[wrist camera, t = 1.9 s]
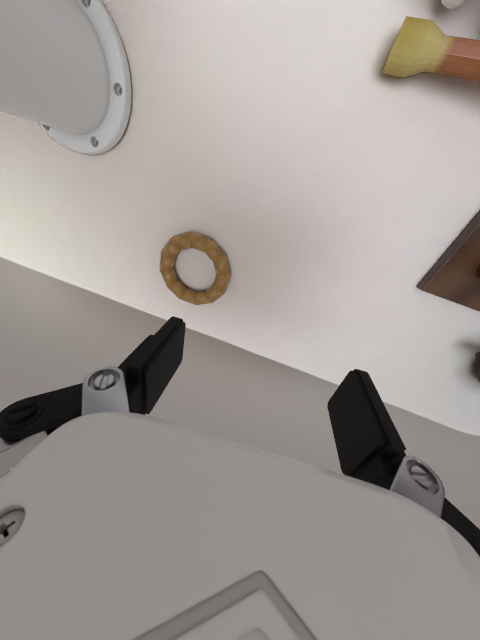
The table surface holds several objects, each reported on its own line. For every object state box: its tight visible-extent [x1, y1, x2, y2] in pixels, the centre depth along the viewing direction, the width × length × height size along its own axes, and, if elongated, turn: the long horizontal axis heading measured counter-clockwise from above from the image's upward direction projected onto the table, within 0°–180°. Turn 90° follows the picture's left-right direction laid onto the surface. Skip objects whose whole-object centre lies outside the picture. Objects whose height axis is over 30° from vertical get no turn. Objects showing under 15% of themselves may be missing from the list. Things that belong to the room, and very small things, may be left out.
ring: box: [160, 232, 231, 305], centre depth 28 cm, size 10×10×2 cm
